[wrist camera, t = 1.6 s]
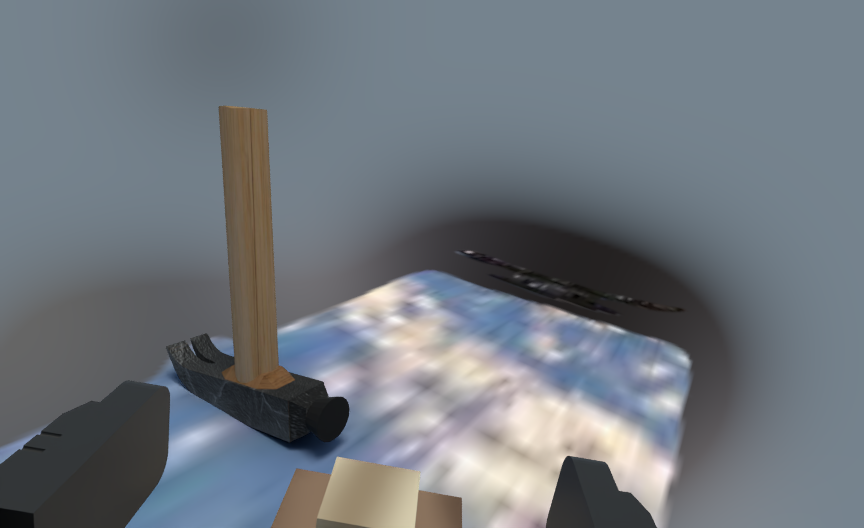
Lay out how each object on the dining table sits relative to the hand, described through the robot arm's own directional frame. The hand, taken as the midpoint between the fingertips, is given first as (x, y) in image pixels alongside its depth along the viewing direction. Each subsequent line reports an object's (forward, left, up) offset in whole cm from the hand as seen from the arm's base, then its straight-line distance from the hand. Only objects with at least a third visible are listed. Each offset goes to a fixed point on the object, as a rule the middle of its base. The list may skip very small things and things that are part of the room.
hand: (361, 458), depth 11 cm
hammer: (-14, +39, -26) cm, 49 cm away
